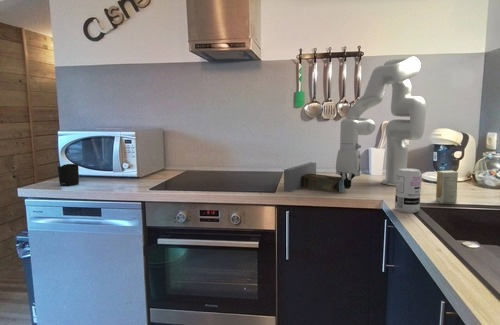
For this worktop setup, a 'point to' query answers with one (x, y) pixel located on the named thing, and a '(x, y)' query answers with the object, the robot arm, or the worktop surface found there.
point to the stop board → (297, 176)
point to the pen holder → (68, 174)
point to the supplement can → (408, 190)
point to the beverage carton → (323, 182)
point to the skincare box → (446, 186)
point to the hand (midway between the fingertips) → (347, 188)
